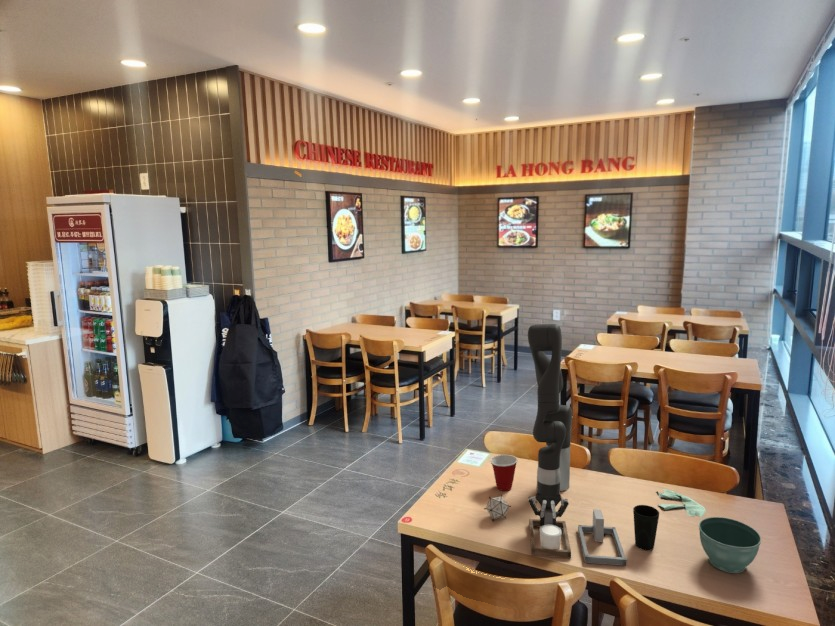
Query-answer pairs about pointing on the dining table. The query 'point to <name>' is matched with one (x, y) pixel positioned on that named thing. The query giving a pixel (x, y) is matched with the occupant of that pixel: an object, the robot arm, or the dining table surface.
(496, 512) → the game die
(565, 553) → the wooden picture frame
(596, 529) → the grey hollow rectangular frame
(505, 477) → the plastic cup
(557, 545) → the white cylinder
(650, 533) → the cup
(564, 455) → the robot arm
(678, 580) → the dining table surface
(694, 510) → the cloth
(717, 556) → the green bowl
